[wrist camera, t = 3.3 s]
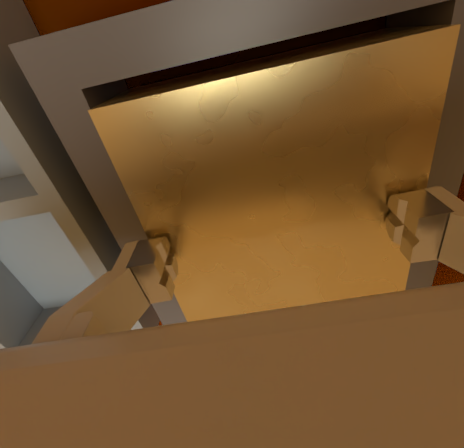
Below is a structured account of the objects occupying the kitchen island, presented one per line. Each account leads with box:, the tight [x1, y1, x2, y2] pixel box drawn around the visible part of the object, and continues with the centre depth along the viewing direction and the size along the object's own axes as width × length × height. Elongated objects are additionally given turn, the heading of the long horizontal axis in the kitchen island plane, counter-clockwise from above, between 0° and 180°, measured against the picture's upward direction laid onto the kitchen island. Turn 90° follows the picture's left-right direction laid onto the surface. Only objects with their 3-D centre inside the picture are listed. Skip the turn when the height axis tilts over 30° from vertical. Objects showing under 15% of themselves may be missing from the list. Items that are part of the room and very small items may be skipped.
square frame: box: [8, 0, 464, 325], centre depth 13 cm, size 14×14×4 cm
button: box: [88, 24, 461, 322], centre depth 12 cm, size 10×10×4 cm
